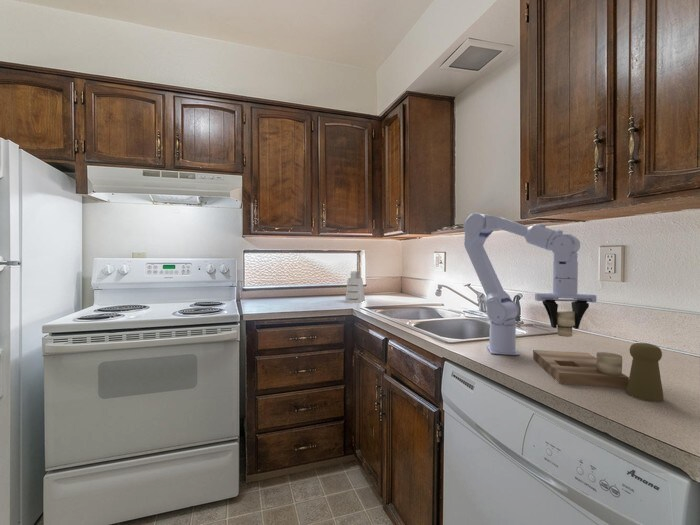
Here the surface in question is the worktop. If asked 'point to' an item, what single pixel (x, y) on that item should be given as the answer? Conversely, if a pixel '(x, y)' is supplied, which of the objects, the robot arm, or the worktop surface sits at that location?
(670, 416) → the worktop surface
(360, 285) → the grater
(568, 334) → the peg
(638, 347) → the olive pawn piece
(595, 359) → the board
